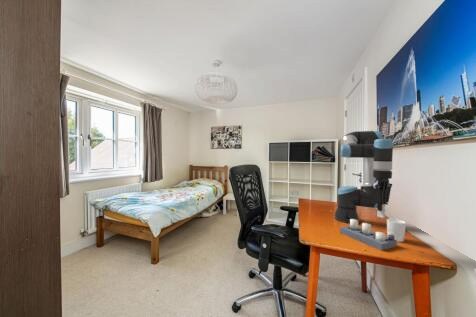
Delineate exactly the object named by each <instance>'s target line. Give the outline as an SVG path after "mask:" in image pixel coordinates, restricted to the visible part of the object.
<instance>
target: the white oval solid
mask: <svg viewBox="0 0 476 317" xmlns="http://www.w3.org/2000/svg"><path fill="white" fill-rule="evenodd" d="M361 228H362V233H363V234H365V235H371V231H372V224H370V223H367V222H362V223H361Z"/></svg>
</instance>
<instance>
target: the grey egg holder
mask: <svg viewBox="0 0 476 317" xmlns="http://www.w3.org/2000/svg"><path fill="white" fill-rule="evenodd" d="M339 233H340V234H342V235H344V236H346V237H349V238H352V239H354V240H356V241H358V242H360V243H363V244H366V245H367V246H370V247H372V248H375V249H376V250H379V251H385V250H388V249H391V248H396V247H397V245H398V244H397V240H395V239H394V236H393V235H392V233H390V235H388V234H387V236H386V239H385V241H384V242H382V241H380V240H377V239H376V231H373V230H371V235H365V234H363V233H362V226H361V227H360V226H358V230H352V229H350V225H347V226H342V227H340V228H339Z"/></svg>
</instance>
